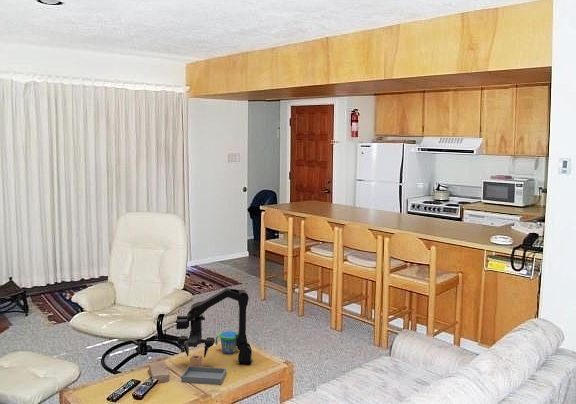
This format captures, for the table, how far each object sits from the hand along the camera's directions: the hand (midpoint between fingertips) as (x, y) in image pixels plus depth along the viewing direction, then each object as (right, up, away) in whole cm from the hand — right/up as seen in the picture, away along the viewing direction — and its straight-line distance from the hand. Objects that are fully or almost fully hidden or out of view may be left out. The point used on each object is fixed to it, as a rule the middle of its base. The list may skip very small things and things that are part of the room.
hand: (196, 356), depth 276 cm
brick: (-17, -7, -11) cm, 22 cm away
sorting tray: (+6, -7, -13) cm, 16 cm away
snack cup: (+15, -3, +20) cm, 25 cm away
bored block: (0, -5, +1) cm, 5 cm away
